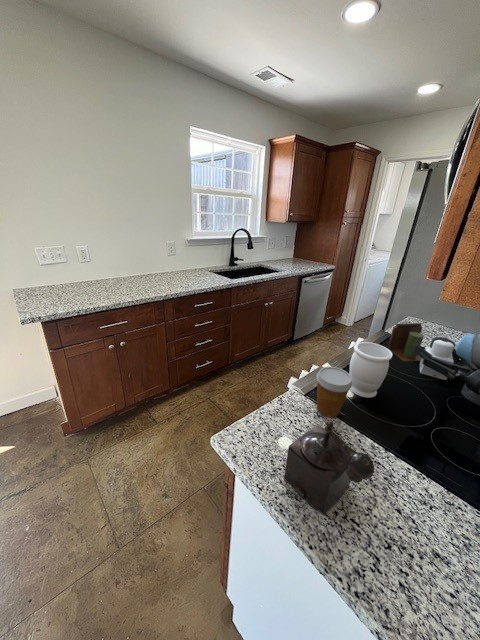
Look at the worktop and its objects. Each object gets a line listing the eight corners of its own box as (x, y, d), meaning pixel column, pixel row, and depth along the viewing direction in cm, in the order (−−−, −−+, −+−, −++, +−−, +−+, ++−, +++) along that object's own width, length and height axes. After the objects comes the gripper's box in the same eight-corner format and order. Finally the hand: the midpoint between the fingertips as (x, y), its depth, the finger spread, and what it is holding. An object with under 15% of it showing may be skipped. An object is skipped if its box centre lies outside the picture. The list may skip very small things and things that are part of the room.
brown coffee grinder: (280, 478, 57) (289, 414, 50) (311, 451, 64) (323, 391, 56) (345, 544, 46) (369, 475, 39) (375, 503, 53) (400, 438, 46)
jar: (384, 389, 86) (396, 349, 80) (374, 405, 79) (387, 363, 73) (351, 376, 93) (361, 338, 87) (339, 389, 85) (348, 349, 79)
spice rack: (412, 349, 112) (421, 322, 107) (431, 362, 102) (442, 334, 97) (386, 350, 110) (394, 323, 105) (402, 363, 101) (412, 335, 96)
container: (419, 363, 100) (430, 332, 94) (444, 370, 96) (457, 338, 91) (419, 373, 94) (431, 341, 88) (446, 381, 90) (460, 348, 85)
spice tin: (413, 352, 107) (420, 332, 103) (418, 358, 103) (426, 337, 99) (401, 350, 108) (407, 330, 104) (405, 356, 103) (412, 336, 100)
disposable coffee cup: (307, 414, 75) (313, 379, 70) (314, 394, 83) (320, 362, 78) (343, 426, 71) (352, 390, 66) (346, 404, 79) (355, 371, 74)
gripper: (448, 399, 76) (397, 358, 96) (518, 395, 79) (454, 355, 99) (458, 378, 73) (403, 340, 93) (530, 374, 75) (462, 337, 95)
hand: (429, 348), depth 96 cm, fingers closed on container, 10 cm apart
